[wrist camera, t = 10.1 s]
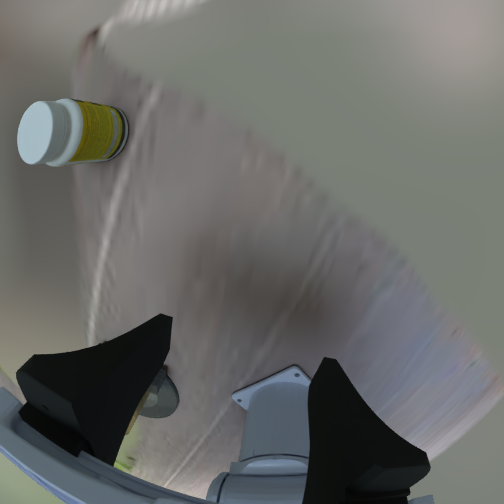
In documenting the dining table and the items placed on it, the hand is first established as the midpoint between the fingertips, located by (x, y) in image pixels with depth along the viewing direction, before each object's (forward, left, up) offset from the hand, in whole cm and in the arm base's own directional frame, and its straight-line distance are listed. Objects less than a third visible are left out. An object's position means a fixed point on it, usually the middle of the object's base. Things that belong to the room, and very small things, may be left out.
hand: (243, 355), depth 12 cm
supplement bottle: (+17, +3, -10) cm, 20 cm away
